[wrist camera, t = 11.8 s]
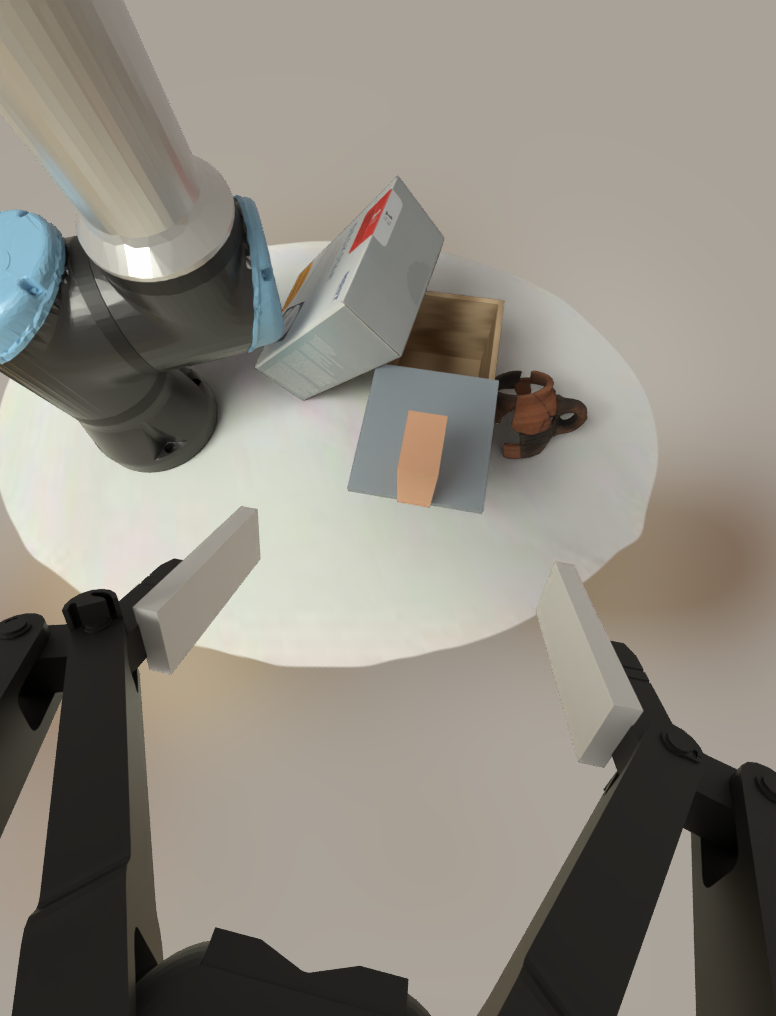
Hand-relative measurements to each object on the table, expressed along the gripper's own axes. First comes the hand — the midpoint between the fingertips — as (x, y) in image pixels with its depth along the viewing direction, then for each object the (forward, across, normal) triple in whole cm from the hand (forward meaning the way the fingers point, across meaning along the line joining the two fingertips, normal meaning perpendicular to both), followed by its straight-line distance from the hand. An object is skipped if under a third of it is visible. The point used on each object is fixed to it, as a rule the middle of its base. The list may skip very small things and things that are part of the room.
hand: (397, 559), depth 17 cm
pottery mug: (+37, +12, -2) cm, 39 cm away
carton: (+38, 0, 0) cm, 38 cm away
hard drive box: (+39, -19, +4) cm, 44 cm away
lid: (+23, 0, -1) cm, 23 cm away
